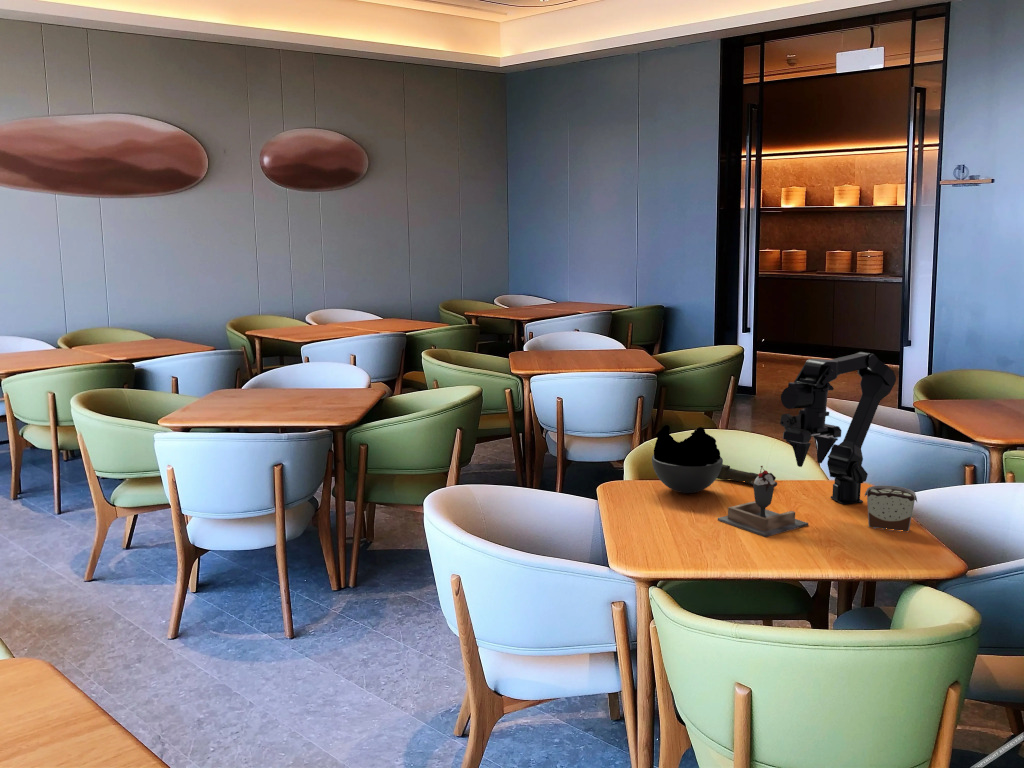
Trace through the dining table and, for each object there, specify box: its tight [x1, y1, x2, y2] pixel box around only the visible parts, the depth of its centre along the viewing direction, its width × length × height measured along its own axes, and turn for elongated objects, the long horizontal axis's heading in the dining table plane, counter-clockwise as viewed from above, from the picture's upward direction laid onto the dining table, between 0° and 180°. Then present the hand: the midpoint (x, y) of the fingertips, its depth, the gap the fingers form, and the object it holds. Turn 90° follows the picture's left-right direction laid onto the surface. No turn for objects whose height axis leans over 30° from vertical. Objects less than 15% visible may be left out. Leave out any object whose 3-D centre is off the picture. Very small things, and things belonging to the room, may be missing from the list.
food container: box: [864, 484, 918, 532], centre depth 237 cm, size 12×6×10 cm, turn 65°
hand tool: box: [716, 464, 759, 486], centre depth 279 cm, size 19×4×5 cm, turn 44°
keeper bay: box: [717, 500, 809, 538], centre depth 241 cm, size 16×16×4 cm
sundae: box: [751, 465, 778, 518], centre depth 240 cm, size 7×7×15 cm
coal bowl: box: [651, 424, 724, 494], centre depth 267 cm, size 20×20×19 cm
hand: (809, 464), depth 249 cm, fingers open, 9 cm apart
